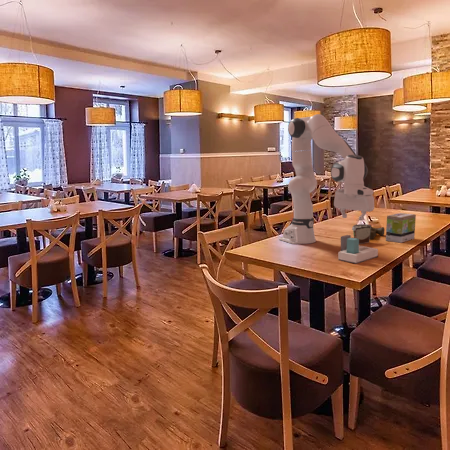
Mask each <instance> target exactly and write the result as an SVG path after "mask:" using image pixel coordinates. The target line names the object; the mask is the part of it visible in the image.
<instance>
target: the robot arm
mask: <svg viewBox="0 0 450 450" xmlns="http://www.w3.org/2000/svg"><path fill="white" fill-rule="evenodd" d="M287 132H288V134H289V136H290V137H291V139H292V140H291V161H292V163H291V165H292V167H293V168H294V172H295V175H296V176H294V177H293V178H292V179H290V181H289V182H288V187H287V188H288V191H289V192H290V194H291V198H292V203H293V204H292V205H293V218H291V219H290V220H289V221H290V222H291V224H290V225H288V226H287V227H286V228H285V229H283V234H282V236H281V237H279V238H278V240H279V241H283V242H285V243H289V244H292V245H299V244H302V245H303V244H304V245H306V244H313V243H316V241H317V240H316V236H315V230H314V224H315V222H314V221H315V219H314V205H313V202H312V199H311V195H310V194H311V193H312V192H313V191H314V190H316V188H317V186H318V180H317V178H316V176H315V171H314V167H313V161H312V160H313V157H312V144H311V143H312V142H311V141H312V139H313V142H314V144H315V145H316V146H317V147H318V148H319V149H322V150H325V151H330V152H333V153H336V154H338V155H340V156H341V157H342V158H343V160H340V161H338V162H335V163H333V164H332V166H331V168H330V176H331V179H332V180H333V181H334V182H338V183H340V182H341V183H343V182H344V183H343V185H344V186H343V188H337V190H335V192H334V200H333V206H334V209H335V208H336V209H339V211H340V213H341V217H342V218H343V219H346V218H348V214H347V213H346V210H351V211H360V213H361V215H360V216H358V220H359V221H364V220H365V216H366V214H367V213H368V212H372V211H374V209H375V198H374V195H373V194H374V190H373V189H372V188H369V187H366V186H365V182H364V180H365V179H366V177H367V175H368V173H369V169H368V167H367V164H366V163H365V160H364V157H363V156H362V155H358V154H356V153H355V151H354V149H352V146H350V145H349V143H348V142H347V140H345V139H344V138H343V137H342V136H340V135H339V134H338V133H337V132H336V131H335V130H334V128H333V127H332V125H331V124H330V122H329V120H328V119H327V118H326V117H325V116H324V115H323V114H320V113H319V114H313V115H311V116H306V117H304V116H303V117H295V118H293V119H291V120H289V122H288V125H287Z"/></svg>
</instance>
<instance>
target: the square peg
mask: <svg viewBox="0 0 450 450" xmlns="http://www.w3.org/2000/svg"><path fill="white" fill-rule="evenodd" d="M359 246H360V244H359V239H357V238H354V237H351V238H349V239H347V253H351V254H356V253H359Z"/></svg>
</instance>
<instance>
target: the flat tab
mask: <svg viewBox="0 0 450 450" xmlns="http://www.w3.org/2000/svg"><path fill="white" fill-rule="evenodd" d="M349 238H352V237H351V235H350V234H346V235H345V234H344V235H341V236H340V251H344V250H347V239H349Z"/></svg>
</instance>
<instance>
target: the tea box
mask: <svg viewBox="0 0 450 450" xmlns="http://www.w3.org/2000/svg"><path fill="white" fill-rule="evenodd" d="M416 219H417V217H416V214H413V213H406V212H405V213H404V212H399V213H393V214H389V215H388V214H387V216H386V225H385V226H386V228H385V229H386V230H385V241H388V242H393V243H400V244H401V243H405V242H407V241H411V239H412V240H414V239H415V237H416V236H415V234H416V233H415V232H416Z"/></svg>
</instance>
